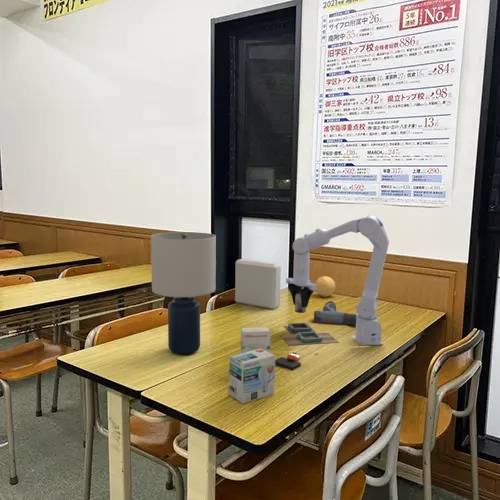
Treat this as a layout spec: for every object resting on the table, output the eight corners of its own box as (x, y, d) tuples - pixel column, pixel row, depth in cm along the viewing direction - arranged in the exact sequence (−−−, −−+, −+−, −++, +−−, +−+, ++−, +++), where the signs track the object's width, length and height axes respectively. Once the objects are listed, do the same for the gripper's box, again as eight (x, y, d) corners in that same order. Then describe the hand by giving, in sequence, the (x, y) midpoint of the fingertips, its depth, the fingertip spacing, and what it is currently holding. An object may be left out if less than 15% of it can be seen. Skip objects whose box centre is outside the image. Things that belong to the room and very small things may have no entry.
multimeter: (297, 347, 161) (297, 337, 160) (326, 356, 152) (326, 346, 152) (261, 361, 148) (261, 351, 147) (291, 373, 140) (291, 362, 139)
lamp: (155, 365, 142) (153, 237, 136) (150, 342, 162) (149, 230, 156) (220, 359, 148) (221, 236, 142) (209, 338, 167) (209, 229, 161)
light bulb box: (242, 404, 118) (243, 363, 117) (227, 394, 124) (228, 355, 122) (275, 394, 124) (276, 355, 123) (260, 384, 130) (261, 347, 128)
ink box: (268, 362, 145) (268, 326, 144) (270, 369, 140) (271, 331, 139) (240, 363, 144) (240, 326, 143) (241, 370, 140) (242, 331, 138)
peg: (307, 312, 174) (307, 294, 173) (296, 313, 173) (297, 294, 172) (303, 309, 178) (304, 291, 177) (293, 310, 177) (293, 292, 176)
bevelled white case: (282, 306, 211) (283, 262, 208) (273, 310, 204) (274, 265, 201) (243, 299, 222) (243, 257, 219) (233, 303, 215) (233, 260, 212)
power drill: (360, 314, 201) (362, 329, 182) (316, 311, 205) (313, 325, 185) (361, 302, 200) (362, 315, 181) (317, 299, 204) (314, 312, 185)
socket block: (316, 334, 173) (316, 329, 172) (290, 336, 171) (290, 330, 170) (307, 326, 182) (307, 321, 182) (282, 327, 180) (283, 322, 180)
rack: (338, 344, 163) (339, 338, 163) (289, 347, 159) (289, 341, 159) (328, 334, 173) (328, 329, 172) (280, 337, 169) (281, 332, 168)
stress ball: (331, 296, 234) (317, 281, 237) (342, 284, 228) (328, 269, 231) (321, 303, 227) (307, 288, 230) (332, 290, 221) (317, 275, 224)
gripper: (323, 271, 170) (322, 308, 172) (296, 265, 181) (295, 300, 183) (309, 273, 165) (308, 311, 167) (282, 267, 177) (281, 302, 179)
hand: (300, 305), depth 175 cm, fingers closed on peg, 4 cm apart
